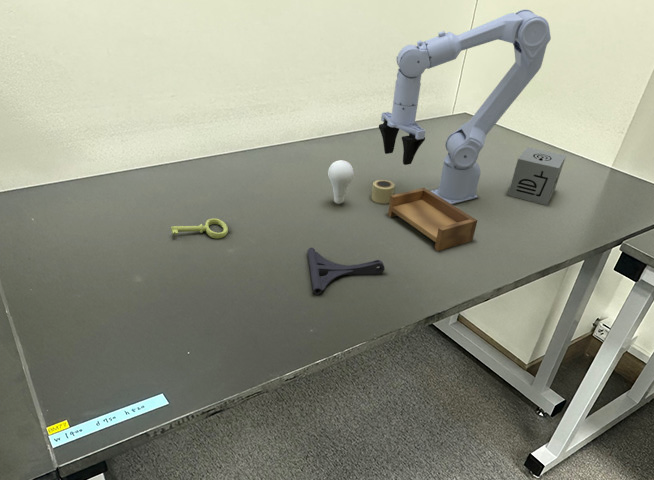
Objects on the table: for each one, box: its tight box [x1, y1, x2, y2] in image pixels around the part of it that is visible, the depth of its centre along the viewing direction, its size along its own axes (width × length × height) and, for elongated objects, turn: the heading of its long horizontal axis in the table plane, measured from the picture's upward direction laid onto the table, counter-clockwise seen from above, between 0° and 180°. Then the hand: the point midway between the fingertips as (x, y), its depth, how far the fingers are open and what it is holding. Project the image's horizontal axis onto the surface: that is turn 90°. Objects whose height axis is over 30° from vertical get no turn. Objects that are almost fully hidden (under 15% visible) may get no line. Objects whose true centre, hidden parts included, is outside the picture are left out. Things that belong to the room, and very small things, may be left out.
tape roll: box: [370, 179, 396, 205], centre depth 133 cm, size 5×5×4 cm
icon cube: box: [507, 146, 567, 206], centre depth 138 cm, size 10×10×10 cm
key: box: [170, 217, 229, 239], centre depth 116 cm, size 7×12×2 cm, turn 126°
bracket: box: [307, 247, 385, 296], centre depth 106 cm, size 14×15×3 cm
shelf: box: [387, 187, 478, 252], centre depth 122 cm, size 10×18×5 cm, turn 31°
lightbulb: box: [327, 159, 355, 205], centre depth 128 cm, size 6×6×11 cm
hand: (397, 158), depth 132 cm, fingers open, 7 cm apart
